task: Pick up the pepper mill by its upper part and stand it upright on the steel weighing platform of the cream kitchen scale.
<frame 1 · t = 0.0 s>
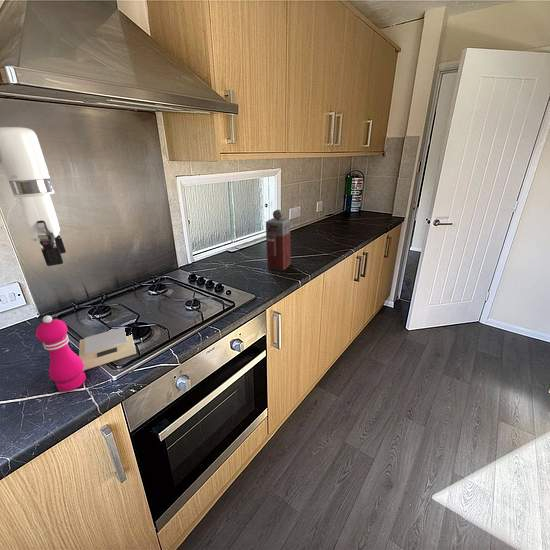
hand: (57, 258, 73), 30 cm above the worktop, tool pointing down, fingers open, 9 cm apart
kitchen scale: (108, 350, 88), on the worktop
pepper mill: (72, 383, 76), on the worktop
red square decanter: (278, 267, 146), on the worktop
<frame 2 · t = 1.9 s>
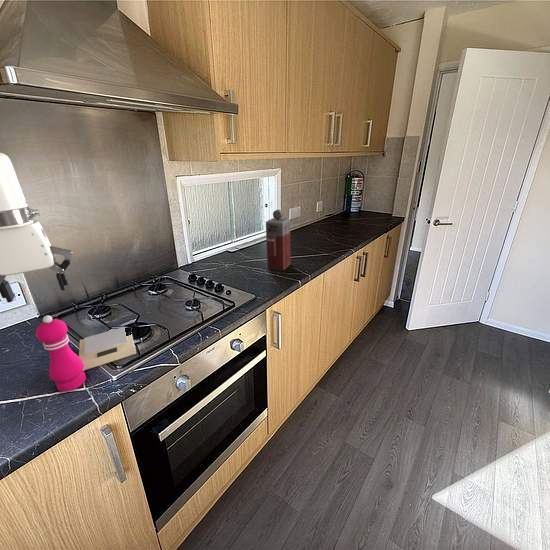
hand: (38, 293, 66), 26 cm above the worktop, tool pointing down, fingers open, 9 cm apart
nothing on the worktop moved.
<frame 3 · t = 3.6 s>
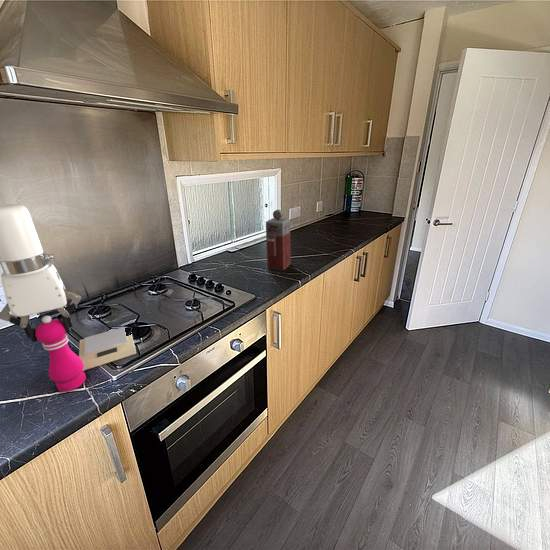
hand: (52, 333, 70), 15 cm above the worktop, tool pointing down, fingers closed on pepper mill, 6 cm apart
pepper mill: (72, 383, 76), on the worktop, touching gripper
everything else where it was.
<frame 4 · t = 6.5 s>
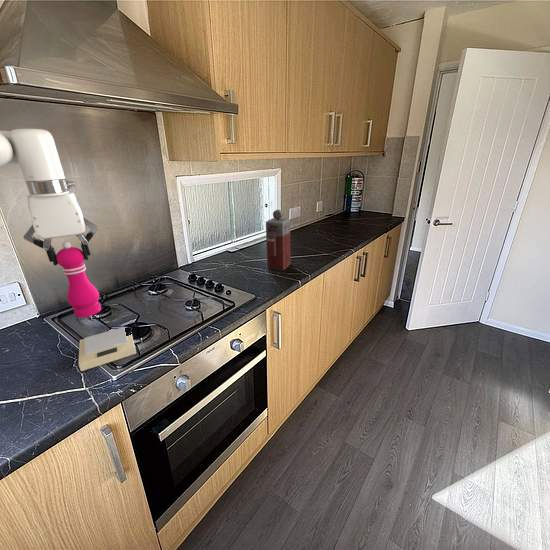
hand: (71, 260, 75), 29 cm above the worktop, tool pointing down, fingers closed on pepper mill, 6 cm apart
pepper mill: (88, 312, 81), point 14 cm above the worktop, touching gripper
everything else where it was.
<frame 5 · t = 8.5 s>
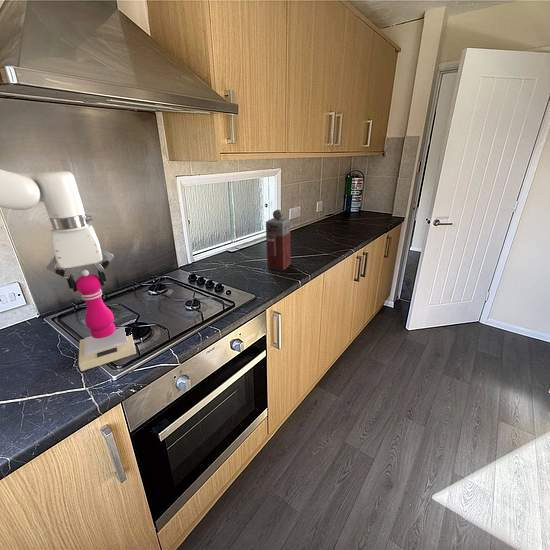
hand: (89, 286, 81), 21 cm above the worktop, tool pointing down, fingers closed on pepper mill, 6 cm apart
pepper mill: (104, 333, 87), point 5 cm above the worktop, touching gripper
everything else where it was.
when the fingers open (18 cm above the worktop, at t = 9.7 s): pepper mill stays where it is, resting on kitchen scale.
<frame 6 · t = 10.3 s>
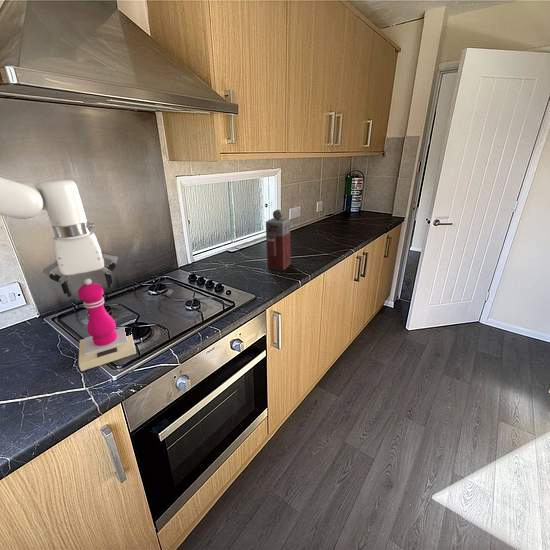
hand: (90, 290, 81), 19 cm above the worktop, tool pointing down, fingers open, 9 cm apart
pepper mill: (106, 340, 88), point 3 cm above the worktop, touching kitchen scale
everything else where it was.
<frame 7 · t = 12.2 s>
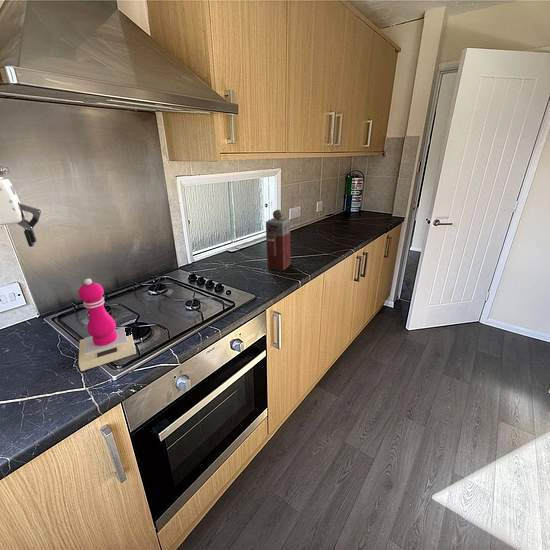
hand: (7, 248, 70), 34 cm above the worktop, tool pointing down, fingers open, 9 cm apart
nothing on the worktop moved.
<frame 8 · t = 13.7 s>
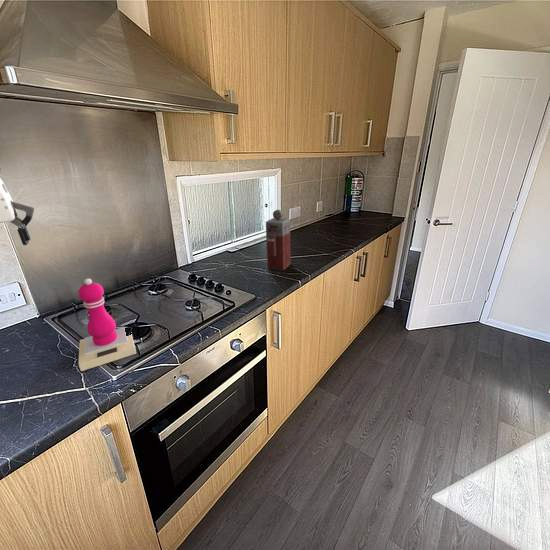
hand: (1, 247, 70), 34 cm above the worktop, tool pointing down, fingers open, 9 cm apart
nothing on the worktop moved.
at the end: pepper mill inside the target area on the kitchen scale (0.3 cm from its centre), point 2.8 cm above the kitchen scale's base; pepper mill tilted 0°; the gripper is holding nothing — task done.
